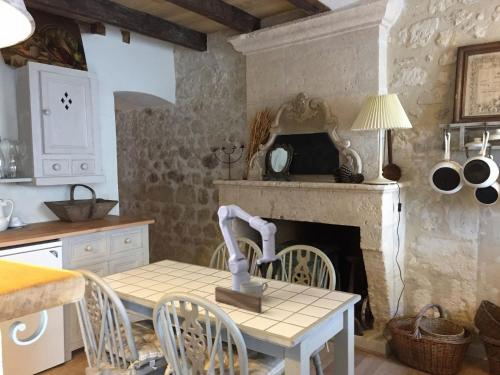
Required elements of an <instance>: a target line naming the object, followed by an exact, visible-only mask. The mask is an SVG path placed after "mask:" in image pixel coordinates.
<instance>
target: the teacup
mask: <svg viewBox="0 0 500 375" xmlns="http://www.w3.org/2000/svg"><path fill="white" fill-rule="evenodd" d="M264 285H265V286H264ZM240 286H241V292H243V293H247V294H251V295H255V296H259V297H261V298H263V295H264V292H266V290H267V289H268V287H269V285H268V282H266V281H259V280H251V281H247V282H243V283H241V284H240Z"/></svg>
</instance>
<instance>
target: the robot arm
mask: <svg viewBox="0 0 500 375" xmlns="http://www.w3.org/2000/svg"><path fill="white" fill-rule="evenodd" d="M217 215H218V220H219V222H218V223H219V224H218V225H219V227H220V231H221V233H222V236H223V238H224V242H225V244H226V245H225V246H226V247H227V250H228V254H229V259H228V269H229V271H230V273H231V278H232V282H231V283H232V288H230V289H231V290H235V291H239V292H241V286H240V284H241V283H243V282H247V281H252V280H251V274H250V273H249V272H248V270H249V268H250V263H249V261H248V259H247V258H246V256H245V255H244V254H243V253H242V252H241V250H240V248H239V244H238V241H237V238H236V236H235V233H234V231H233V228H232V227H233V226H232V222H233V221H234V219H235V218H236V217H237V218H239V219H241V220H243V221H245V222H247V223H249V226H250V228H253V229H255V230H256V231H258V232H259V233H260V235H261V239H262V257H260V258H258V259H256V266H257V268H258V269H259V271H260V272H259V273H260V275H261V278H262V279H266V278H267V269H268V264H266V263H269V262H271V267H272V268H271V269H272V274H273V275H274V276H278V272H279V268H280V266H281V264H282V255H280V254H276V248H275V247H276V246H275V245H276V244H275V243H276V242H275V234H276V232H277V226H276V225H275V224H274V223H273V222H268V221H267V220H264V219H262V218H261V216H259V215H258V216H256V215H254V216H253V215H251V214H249V213H247V211H245V210H243V209H242V208H240V206H238V205H235V204H230V205H221V206H220V207H219V209H218V211H217Z"/></svg>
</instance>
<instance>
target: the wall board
mask: <svg viewBox="0 0 500 375" xmlns="http://www.w3.org/2000/svg"><path fill="white" fill-rule="evenodd" d="M231 289H232V288H226V287H223V286H216V287H214V293H215V294H214V295H215V296H214V297H215V299H214V300H215V302H216V303H221V304H225V305H228V306H230V307H234V308H238V309H242V310H245V311H247V312H248V311H249V312H252V313H255V314H260V313H262V297H259V296H255V295H251V294H247V293H243V292H239V291H235V290H231Z"/></svg>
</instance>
